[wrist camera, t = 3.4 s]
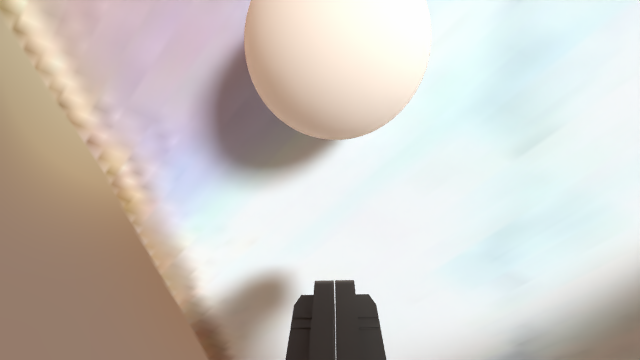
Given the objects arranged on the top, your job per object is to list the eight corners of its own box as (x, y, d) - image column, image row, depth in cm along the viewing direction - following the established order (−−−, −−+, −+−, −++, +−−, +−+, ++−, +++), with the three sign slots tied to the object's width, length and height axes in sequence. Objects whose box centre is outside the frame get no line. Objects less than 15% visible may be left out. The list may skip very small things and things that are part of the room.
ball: (435, 16, 11) (520, -26, 6) (363, 145, 13) (380, 196, 8) (302, -60, 11) (269, -180, 5) (247, 86, 13) (183, 100, 7)
